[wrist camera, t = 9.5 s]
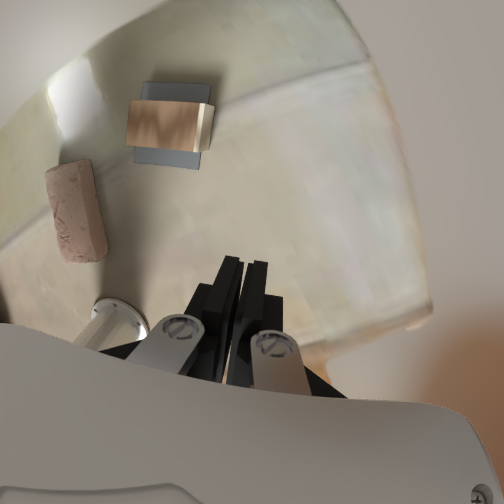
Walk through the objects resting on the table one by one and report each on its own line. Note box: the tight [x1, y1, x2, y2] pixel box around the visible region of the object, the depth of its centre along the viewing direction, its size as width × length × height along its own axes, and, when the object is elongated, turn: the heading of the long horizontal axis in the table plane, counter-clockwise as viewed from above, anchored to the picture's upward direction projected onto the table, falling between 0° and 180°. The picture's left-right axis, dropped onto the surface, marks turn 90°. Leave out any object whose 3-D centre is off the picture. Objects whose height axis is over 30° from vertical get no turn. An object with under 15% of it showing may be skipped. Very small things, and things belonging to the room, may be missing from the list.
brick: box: [45, 159, 108, 263], centre depth 43 cm, size 17×8×5 cm, turn 5°
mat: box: [134, 82, 211, 170], centre depth 38 cm, size 12×10×1 cm
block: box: [126, 100, 215, 152], centre depth 35 cm, size 6×5×10 cm
